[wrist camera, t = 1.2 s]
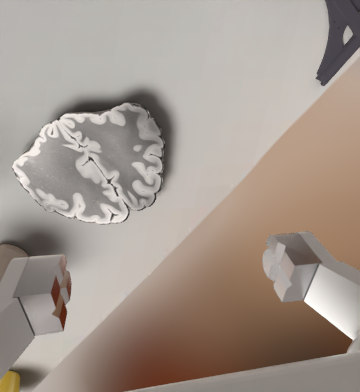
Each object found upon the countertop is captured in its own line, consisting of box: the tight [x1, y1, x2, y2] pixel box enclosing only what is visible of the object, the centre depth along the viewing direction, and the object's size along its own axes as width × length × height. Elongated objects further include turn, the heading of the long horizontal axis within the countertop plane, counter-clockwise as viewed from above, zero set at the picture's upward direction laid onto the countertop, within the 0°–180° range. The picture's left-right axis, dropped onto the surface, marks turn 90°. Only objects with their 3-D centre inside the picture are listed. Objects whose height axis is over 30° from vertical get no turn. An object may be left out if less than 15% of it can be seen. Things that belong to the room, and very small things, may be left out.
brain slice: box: [12, 102, 165, 224], centre depth 38 cm, size 20×17×3 cm
